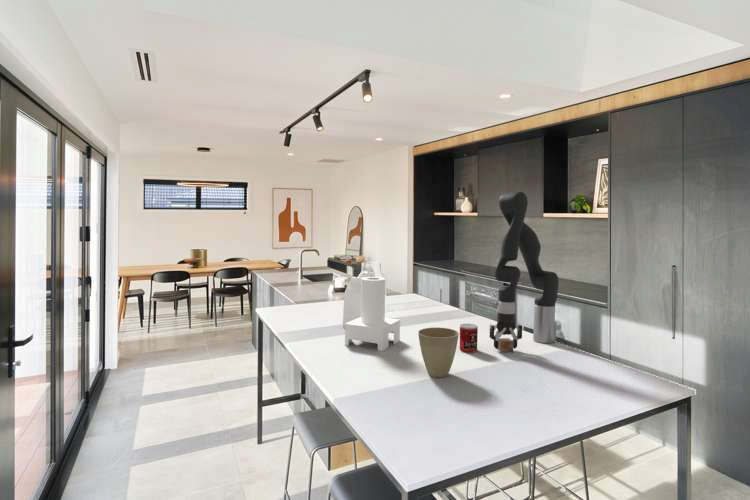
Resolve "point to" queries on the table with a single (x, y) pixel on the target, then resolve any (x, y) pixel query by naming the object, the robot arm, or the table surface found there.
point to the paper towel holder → (372, 316)
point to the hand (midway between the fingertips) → (505, 348)
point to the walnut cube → (505, 345)
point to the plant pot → (438, 349)
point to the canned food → (468, 338)
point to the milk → (352, 300)
